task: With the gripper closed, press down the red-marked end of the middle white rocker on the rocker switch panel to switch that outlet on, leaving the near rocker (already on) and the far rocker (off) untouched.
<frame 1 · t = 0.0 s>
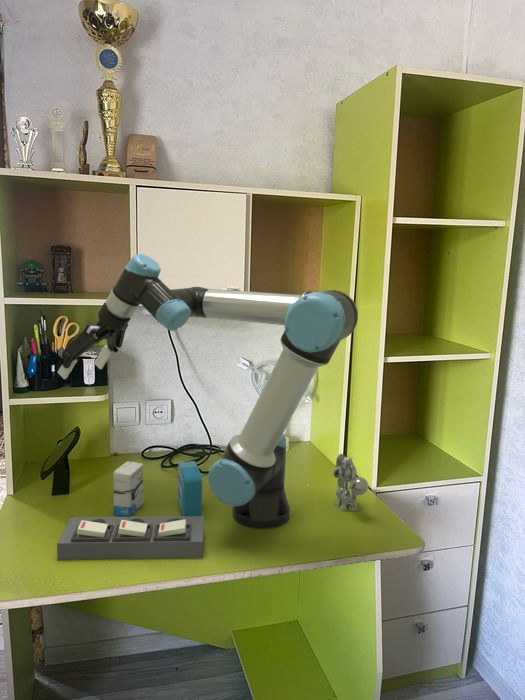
hand: (80, 370, 146), 36 cm above the table, tool tilted 35°, fingers open, 13 cm apart
near rocker: (172, 527, 127), point 6 cm above the table, hinge at 10.0°
data package: (189, 511, 147), on the table
rocker switch panel: (134, 544, 129), on the table
far rocker: (92, 528, 125), point 6 cm above the table, hinge at -10.0°
middle rocker: (133, 528, 126), point 6 cm above the table, hinge at -10.0°
ink box: (128, 509, 147), on the table
robot toy: (348, 509, 152), on the table
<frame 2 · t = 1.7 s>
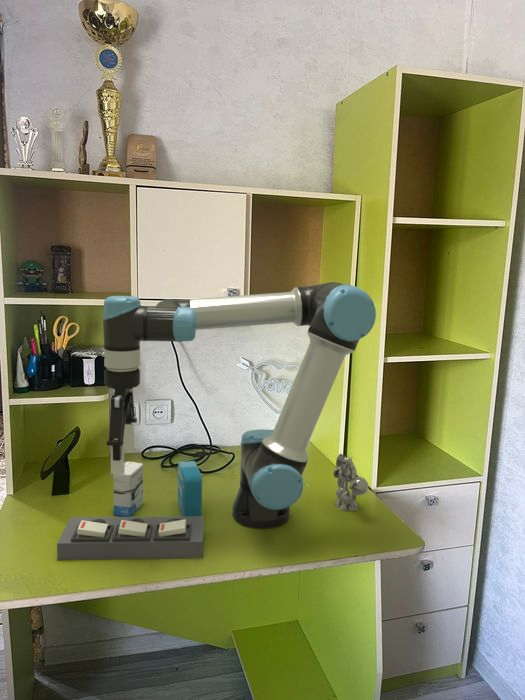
hand: (123, 461, 123), 22 cm above the table, tool pointing down, fingers open, 12 cm apart
nothing on the table moved.
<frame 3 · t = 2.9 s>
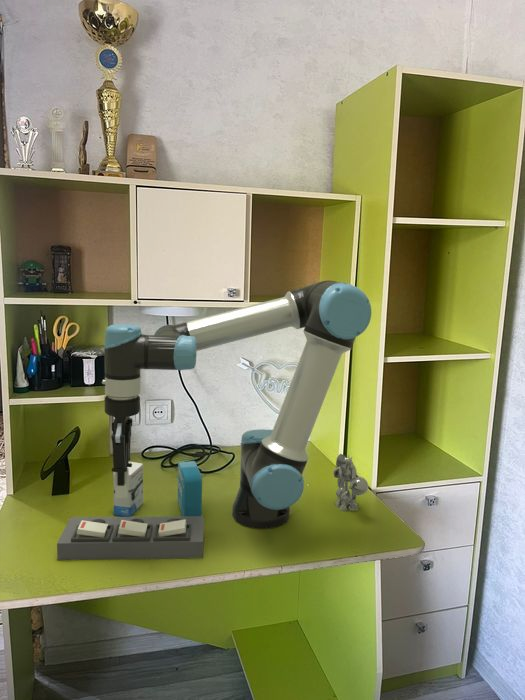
hand: (121, 496, 124), 13 cm above the table, tool pointing down, fingers closed
nothing on the table moved.
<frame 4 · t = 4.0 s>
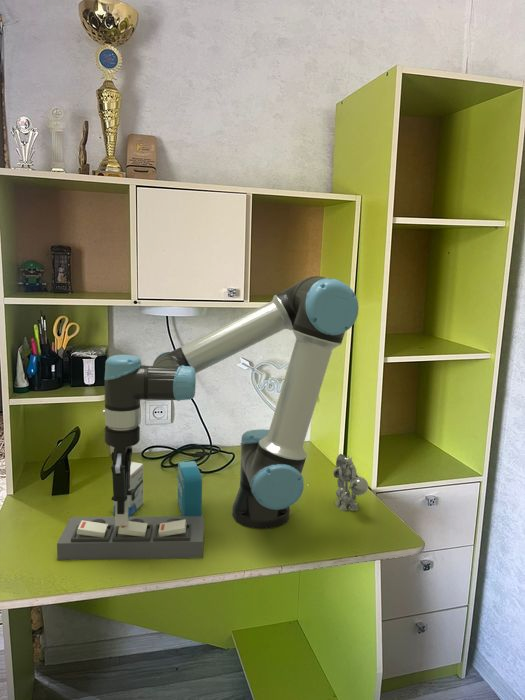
hand: (121, 524, 126), 7 cm above the table, tool pointing down, fingers closed
middle rocker: (133, 528, 126), point 6 cm above the table, hinge at -8.9°, touching gripper
everything else where it was.
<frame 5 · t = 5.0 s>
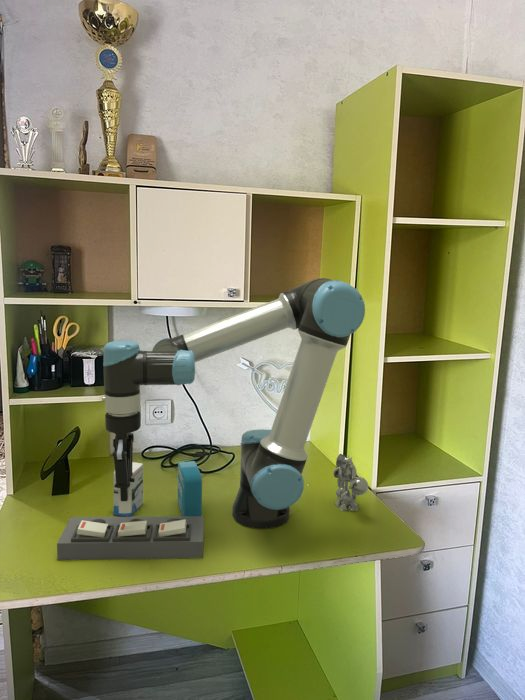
hand: (125, 511, 125), 10 cm above the table, tool pointing down, fingers closed
middle rocker: (132, 528, 126), point 6 cm above the table, hinge at 5.4°
everything else where it was.
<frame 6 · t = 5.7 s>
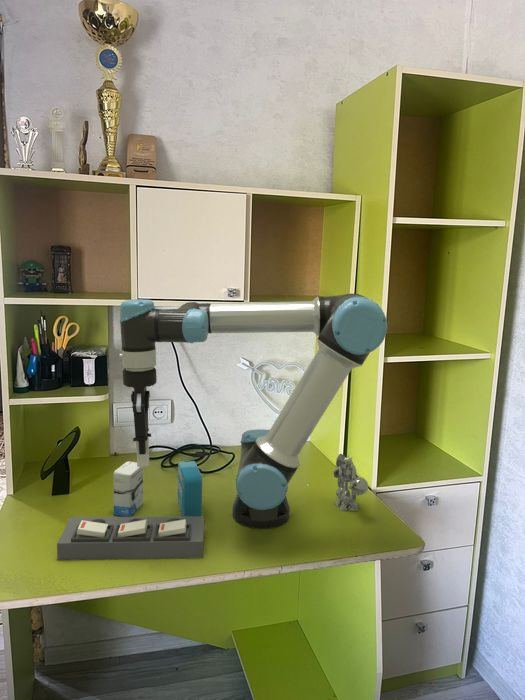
hand: (143, 465, 130), 18 cm above the table, tool pointing down, fingers closed
middle rocker: (132, 528, 126), point 6 cm above the table, hinge at 10.8°
everything else where it was.
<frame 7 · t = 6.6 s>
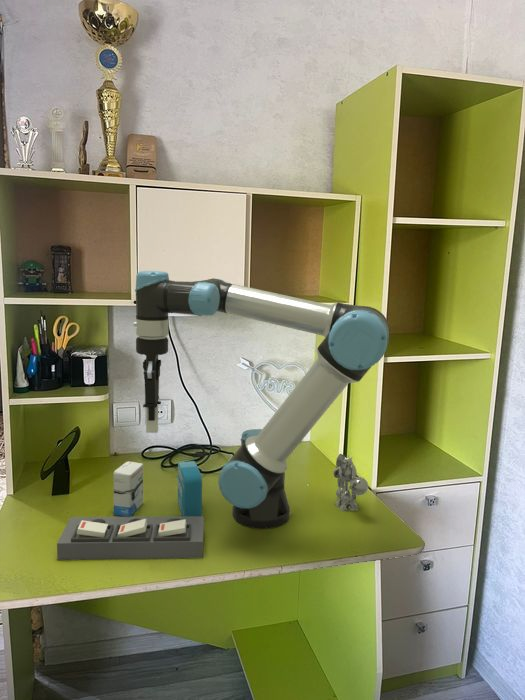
hand: (152, 431, 135), 24 cm above the table, tool pointing down, fingers closed
middle rocker: (132, 528, 126), point 6 cm above the table, hinge at 15.9°
everything else where it was.
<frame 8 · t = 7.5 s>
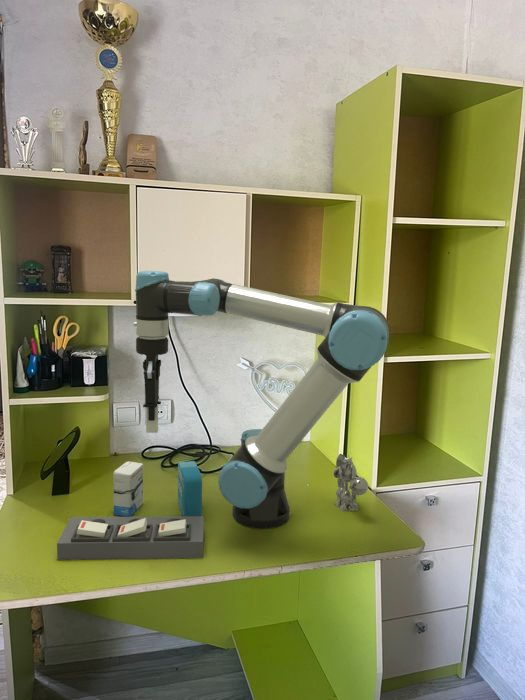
hand: (152, 431, 135), 24 cm above the table, tool pointing down, fingers closed
middle rocker: (132, 528, 126), point 6 cm above the table, hinge at 19.4°, touching rocker switch panel
everything else where it was.
at the end: middle rocker at +19° (first picture: -10°); near rocker at +10° (first picture: +10°); far rocker at -10° (first picture: -10°) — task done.
